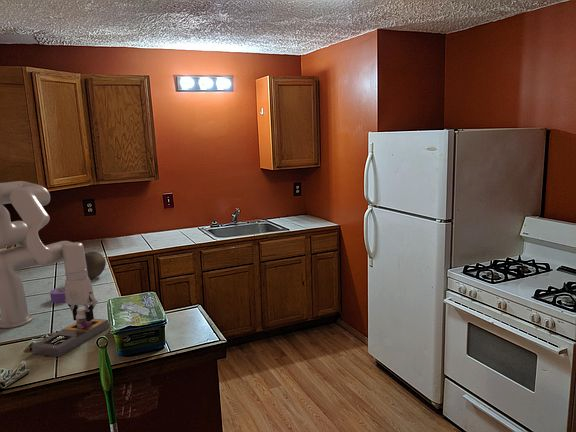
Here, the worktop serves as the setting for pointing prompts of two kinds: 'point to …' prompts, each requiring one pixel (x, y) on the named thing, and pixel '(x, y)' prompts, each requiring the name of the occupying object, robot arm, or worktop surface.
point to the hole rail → (69, 338)
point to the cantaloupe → (94, 264)
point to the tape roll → (58, 295)
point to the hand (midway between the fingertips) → (83, 319)
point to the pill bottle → (82, 319)
